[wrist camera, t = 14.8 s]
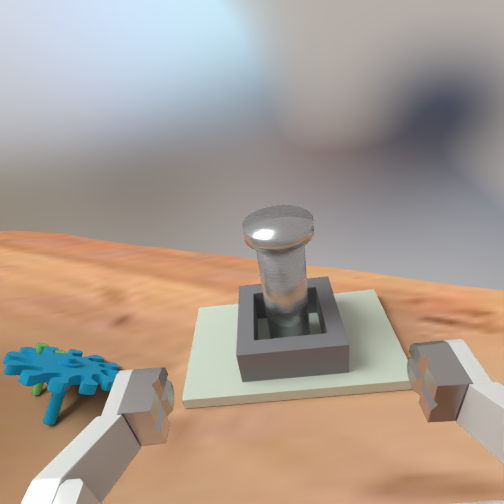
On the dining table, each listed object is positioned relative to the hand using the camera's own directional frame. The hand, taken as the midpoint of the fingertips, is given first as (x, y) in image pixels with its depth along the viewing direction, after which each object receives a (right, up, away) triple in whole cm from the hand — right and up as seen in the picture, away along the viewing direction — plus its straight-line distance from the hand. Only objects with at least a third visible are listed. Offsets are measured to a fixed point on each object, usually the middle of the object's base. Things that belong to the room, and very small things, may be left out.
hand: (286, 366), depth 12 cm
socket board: (+3, -6, +24) cm, 24 cm away
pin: (+3, -5, +23) cm, 24 cm away
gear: (-18, -10, +23) cm, 31 cm away
